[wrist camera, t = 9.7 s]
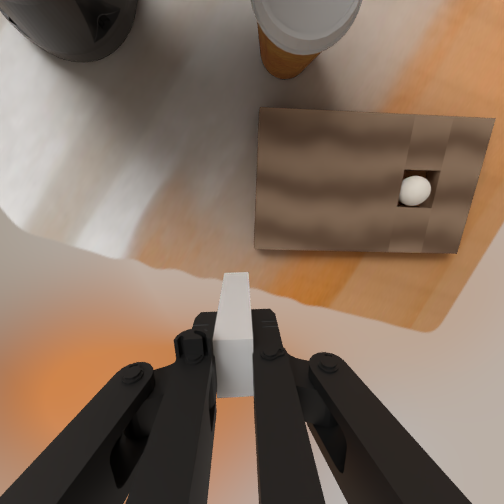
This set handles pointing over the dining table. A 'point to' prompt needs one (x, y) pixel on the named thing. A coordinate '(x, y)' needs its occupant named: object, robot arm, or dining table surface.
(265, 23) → the disposable coffee cup
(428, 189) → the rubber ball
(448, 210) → the hole board
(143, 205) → the dining table surface
